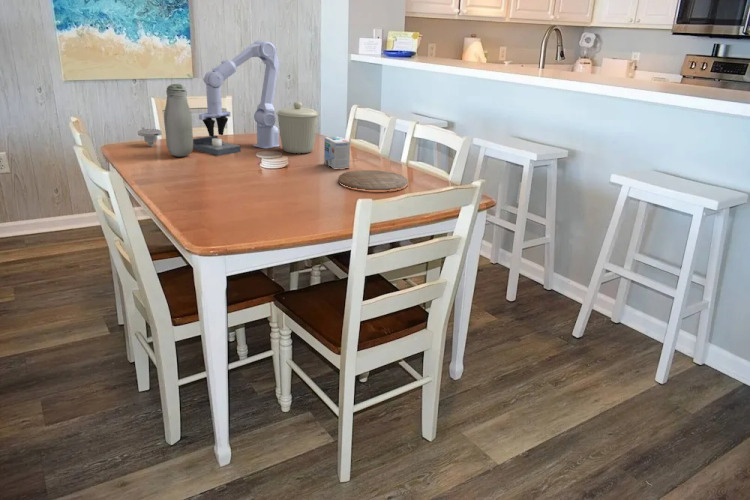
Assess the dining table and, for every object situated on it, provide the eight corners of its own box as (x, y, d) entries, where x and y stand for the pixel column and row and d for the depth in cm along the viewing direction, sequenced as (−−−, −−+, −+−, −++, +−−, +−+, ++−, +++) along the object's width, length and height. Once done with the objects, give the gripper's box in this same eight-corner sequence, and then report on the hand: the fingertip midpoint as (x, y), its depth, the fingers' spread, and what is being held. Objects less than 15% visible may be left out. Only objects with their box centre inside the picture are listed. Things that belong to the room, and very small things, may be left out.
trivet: (329, 176, 214) (329, 171, 213) (392, 173, 222) (392, 168, 222) (351, 195, 192) (351, 190, 192) (419, 191, 201) (419, 186, 200)
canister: (316, 157, 241) (316, 105, 233) (273, 154, 241) (272, 103, 233) (321, 148, 258) (321, 99, 250) (280, 146, 258) (280, 97, 250)
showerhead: (152, 126, 249) (165, 129, 244) (153, 142, 252) (167, 146, 247) (132, 128, 242) (145, 131, 237) (134, 145, 245) (147, 149, 240)
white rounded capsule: (217, 149, 246) (217, 137, 244) (224, 150, 244) (223, 139, 242) (210, 150, 243) (209, 138, 241) (217, 152, 241) (216, 140, 239)
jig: (216, 145, 252) (215, 135, 251) (240, 151, 244) (240, 141, 242) (193, 149, 243) (192, 138, 242) (217, 155, 234) (217, 144, 233)
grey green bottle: (178, 160, 225) (172, 86, 214) (162, 155, 230) (156, 83, 220) (199, 156, 232) (194, 84, 222) (183, 152, 238) (178, 82, 227)
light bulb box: (323, 163, 231) (323, 137, 227) (338, 162, 234) (339, 136, 230) (334, 170, 222) (334, 142, 218) (350, 169, 225) (350, 141, 221)
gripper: (205, 104, 228) (208, 139, 233) (234, 102, 239) (236, 134, 244) (194, 102, 232) (197, 136, 237) (223, 100, 243) (225, 132, 248)
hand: (216, 135), depth 241 cm, fingers open, 4 cm apart
